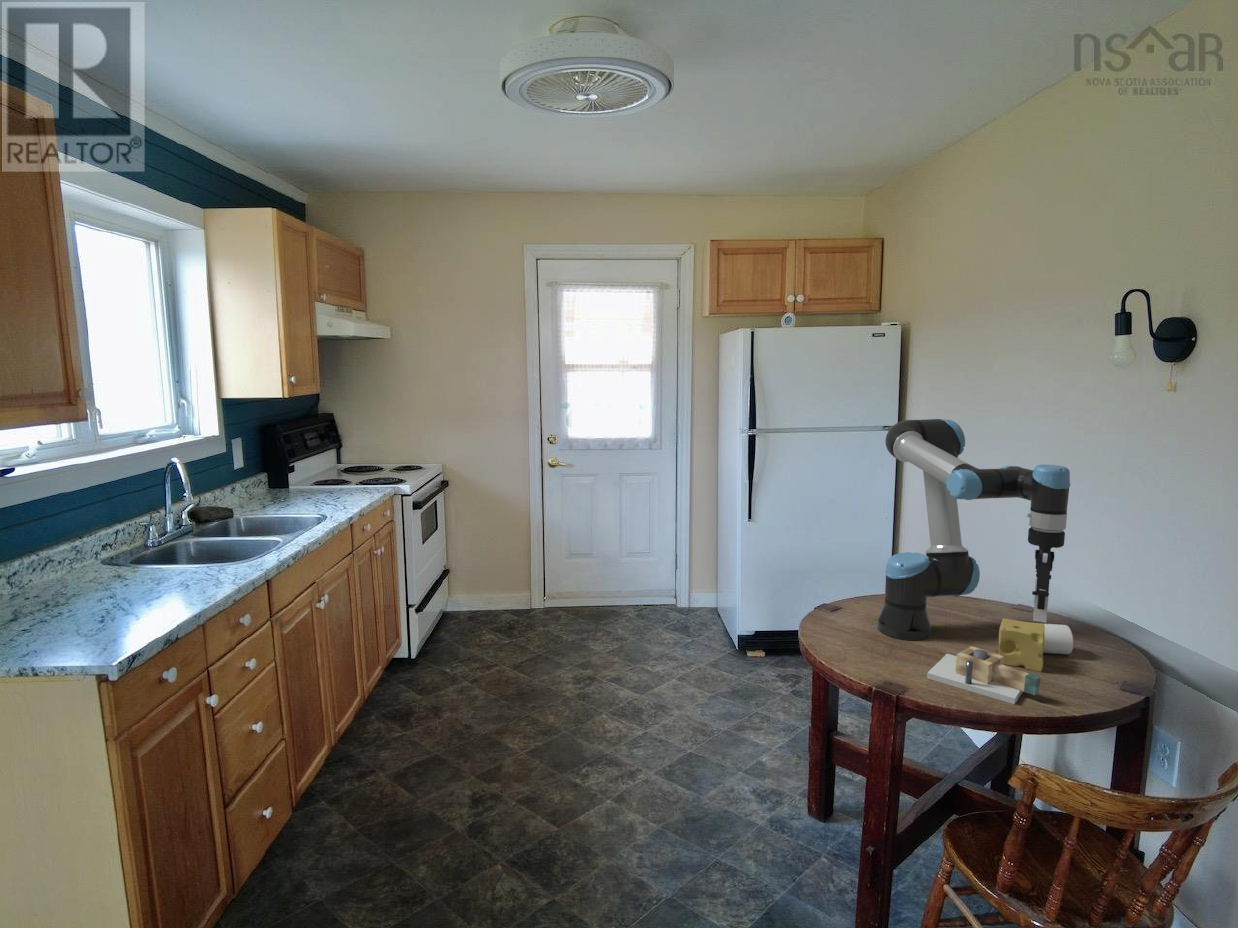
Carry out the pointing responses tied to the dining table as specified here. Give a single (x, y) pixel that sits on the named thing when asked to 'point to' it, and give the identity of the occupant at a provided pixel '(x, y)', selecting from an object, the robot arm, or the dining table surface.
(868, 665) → the dining table surface
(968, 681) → the dowel
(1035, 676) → the wooden frame with handle
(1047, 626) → the mug
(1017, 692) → the base
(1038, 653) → the cheese
